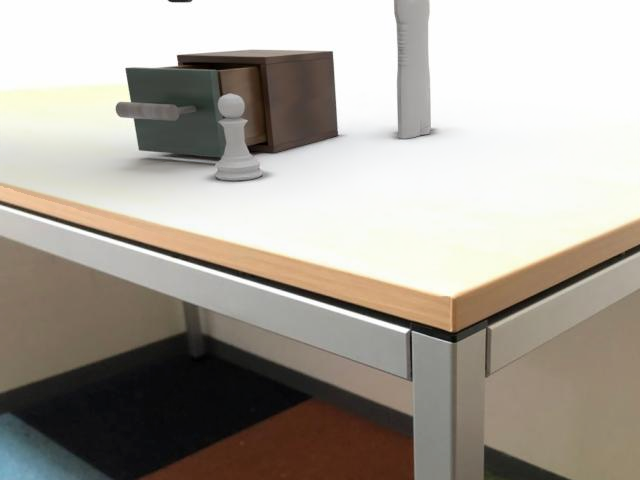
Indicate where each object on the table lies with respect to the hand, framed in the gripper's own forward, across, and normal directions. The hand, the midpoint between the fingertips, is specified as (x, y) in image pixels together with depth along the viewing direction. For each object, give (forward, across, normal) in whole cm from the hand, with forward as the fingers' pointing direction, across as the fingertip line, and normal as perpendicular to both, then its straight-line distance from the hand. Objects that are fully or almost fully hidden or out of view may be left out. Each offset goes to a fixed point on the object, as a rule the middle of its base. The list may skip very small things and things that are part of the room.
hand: (180, 2), depth 72 cm
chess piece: (+16, +4, +4) cm, 17 cm away
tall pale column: (+16, -24, +23) cm, 37 cm away
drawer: (+15, -9, -2) cm, 18 cm away
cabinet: (+16, -19, +3) cm, 25 cm away
